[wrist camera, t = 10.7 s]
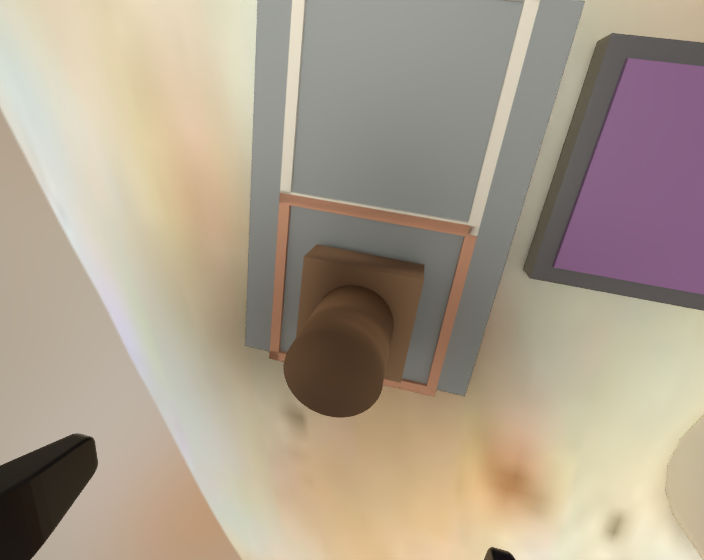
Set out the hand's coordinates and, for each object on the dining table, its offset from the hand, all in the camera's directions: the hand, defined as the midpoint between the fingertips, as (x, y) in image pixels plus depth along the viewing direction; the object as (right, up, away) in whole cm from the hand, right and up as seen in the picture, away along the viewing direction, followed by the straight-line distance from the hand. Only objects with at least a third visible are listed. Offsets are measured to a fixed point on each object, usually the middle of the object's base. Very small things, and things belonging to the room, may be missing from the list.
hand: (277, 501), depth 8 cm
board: (+3, +8, +9) cm, 13 cm away
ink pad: (+14, +9, +7) cm, 18 cm away
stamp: (+2, +4, +10) cm, 11 cm away
